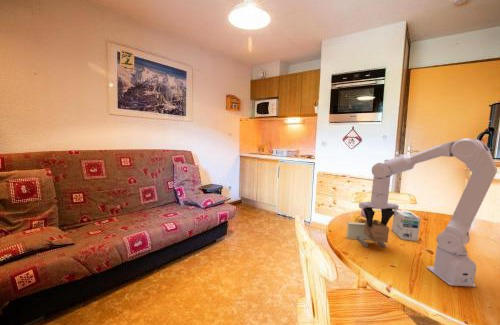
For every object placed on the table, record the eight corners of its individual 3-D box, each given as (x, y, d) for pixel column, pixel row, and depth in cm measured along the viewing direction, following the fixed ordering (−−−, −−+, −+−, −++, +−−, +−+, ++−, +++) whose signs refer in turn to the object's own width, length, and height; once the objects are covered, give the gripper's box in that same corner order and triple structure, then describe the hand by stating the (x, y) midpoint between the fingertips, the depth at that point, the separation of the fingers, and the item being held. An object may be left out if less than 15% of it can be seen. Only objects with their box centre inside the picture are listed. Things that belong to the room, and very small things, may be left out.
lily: (363, 230, 109) (376, 214, 108) (343, 214, 117) (355, 199, 115) (370, 231, 118) (382, 216, 116) (351, 216, 126) (362, 202, 124)
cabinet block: (387, 242, 86) (389, 225, 86) (374, 242, 86) (376, 224, 86) (375, 233, 94) (377, 217, 93) (363, 233, 94) (365, 217, 93)
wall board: (396, 248, 90) (398, 232, 89) (355, 246, 90) (356, 230, 89) (383, 238, 99) (384, 223, 98) (345, 236, 99) (347, 222, 98)
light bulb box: (418, 241, 97) (421, 217, 96) (400, 239, 98) (404, 215, 97) (406, 231, 107) (409, 209, 106) (390, 229, 109) (393, 208, 107)
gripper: (392, 191, 92) (388, 223, 94) (356, 189, 92) (353, 221, 94) (403, 195, 85) (399, 230, 87) (365, 194, 85) (361, 228, 87)
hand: (376, 226), depth 90 cm, fingers closed on cabinet block, 5 cm apart
